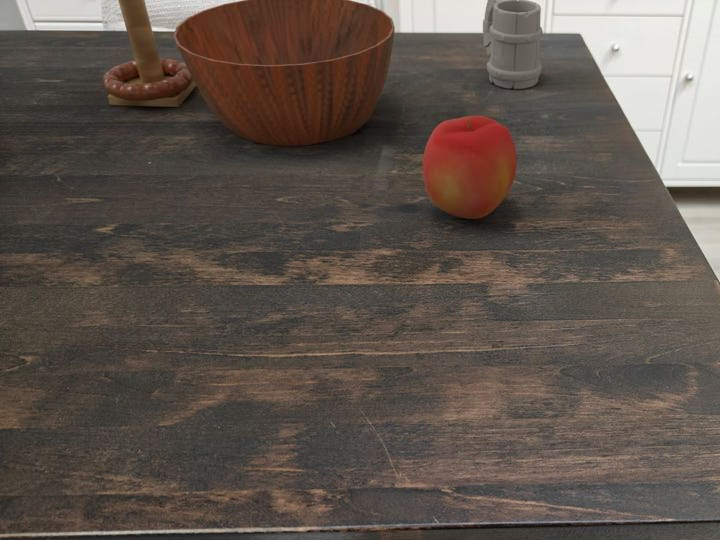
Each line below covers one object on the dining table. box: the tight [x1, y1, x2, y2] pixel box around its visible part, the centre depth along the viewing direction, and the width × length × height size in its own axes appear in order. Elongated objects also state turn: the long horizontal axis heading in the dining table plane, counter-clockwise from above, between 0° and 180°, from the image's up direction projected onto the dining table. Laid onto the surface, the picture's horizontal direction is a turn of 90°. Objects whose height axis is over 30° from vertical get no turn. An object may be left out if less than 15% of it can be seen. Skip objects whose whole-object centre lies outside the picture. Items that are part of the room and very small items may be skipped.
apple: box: [422, 115, 518, 220], centre depth 74 cm, size 10×10×10 cm
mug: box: [482, 0, 544, 90], centre depth 103 cm, size 8×12×12 cm, turn 31°
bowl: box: [172, 0, 396, 147], centre depth 90 cm, size 25×25×11 cm
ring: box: [102, 58, 193, 101], centre depth 98 cm, size 11×11×2 cm
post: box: [107, 0, 197, 108], centre depth 94 cm, size 9×9×16 cm
